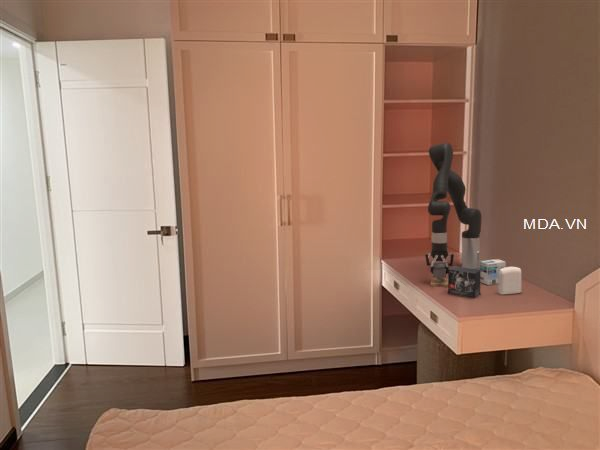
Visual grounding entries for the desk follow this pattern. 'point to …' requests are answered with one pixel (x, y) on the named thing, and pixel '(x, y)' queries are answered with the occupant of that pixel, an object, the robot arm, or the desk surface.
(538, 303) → the desk surface
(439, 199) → the robot arm
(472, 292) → the small box
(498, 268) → the light bulb box
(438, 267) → the knob
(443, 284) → the shaft base
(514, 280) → the photo printer
